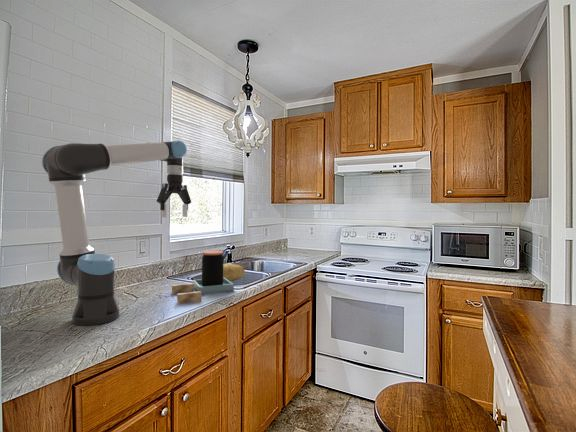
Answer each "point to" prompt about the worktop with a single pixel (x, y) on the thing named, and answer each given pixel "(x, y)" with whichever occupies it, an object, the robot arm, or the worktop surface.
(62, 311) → the worktop surface
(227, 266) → the potato
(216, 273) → the coffee jar
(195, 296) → the oak cradle
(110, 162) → the robot arm
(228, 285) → the bin
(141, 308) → the worktop surface
